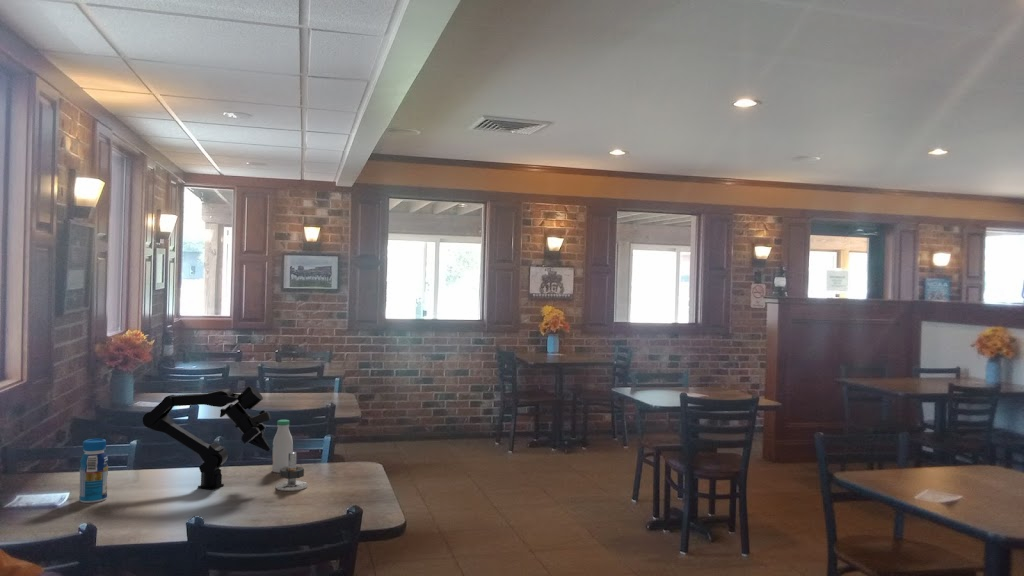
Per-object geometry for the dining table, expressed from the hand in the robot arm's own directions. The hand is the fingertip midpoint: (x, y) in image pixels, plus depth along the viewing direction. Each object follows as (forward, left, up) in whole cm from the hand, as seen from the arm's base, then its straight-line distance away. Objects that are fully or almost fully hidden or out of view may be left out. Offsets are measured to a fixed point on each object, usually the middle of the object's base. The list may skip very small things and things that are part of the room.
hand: (269, 450), depth 270 cm
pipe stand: (+7, +4, -13) cm, 16 cm away
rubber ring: (+7, +4, -9) cm, 12 cm away
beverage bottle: (-42, -37, -14) cm, 58 cm away
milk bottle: (-11, +22, -14) cm, 28 cm away
